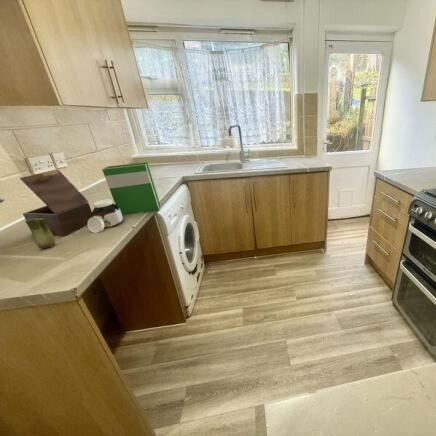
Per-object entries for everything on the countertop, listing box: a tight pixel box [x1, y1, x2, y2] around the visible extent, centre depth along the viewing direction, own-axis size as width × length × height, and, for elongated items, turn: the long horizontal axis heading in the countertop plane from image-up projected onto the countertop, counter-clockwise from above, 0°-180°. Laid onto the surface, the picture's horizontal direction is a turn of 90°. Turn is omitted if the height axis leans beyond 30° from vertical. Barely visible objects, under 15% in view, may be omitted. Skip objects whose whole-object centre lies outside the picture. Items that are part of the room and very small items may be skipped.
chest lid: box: [19, 169, 89, 214], centre depth 103 cm, size 17×15×5 cm
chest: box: [22, 202, 93, 237], centre depth 109 cm, size 17×15×10 cm
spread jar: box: [86, 198, 124, 234], centre depth 108 cm, size 12×11×12 cm
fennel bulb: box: [24, 218, 56, 249], centre depth 93 cm, size 6×5×12 cm
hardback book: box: [101, 161, 161, 216], centre depth 122 cm, size 18×7×24 cm, turn 111°
